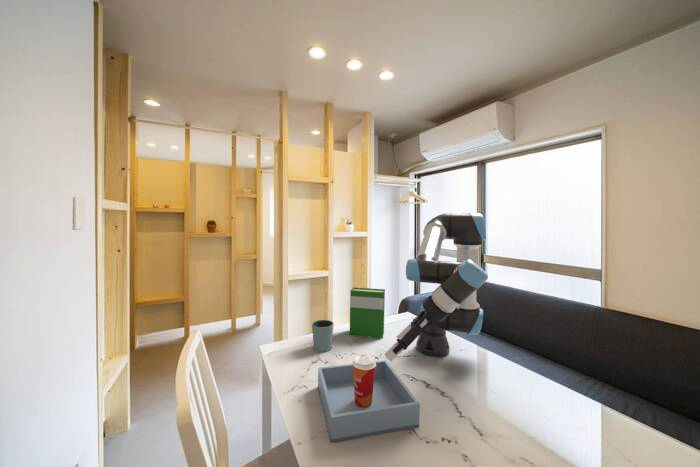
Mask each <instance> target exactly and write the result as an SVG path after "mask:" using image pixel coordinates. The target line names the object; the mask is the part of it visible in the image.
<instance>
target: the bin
mask: <svg viewBox="0 0 700 467" xmlns="http://www.w3.org/2000/svg"><path fill="white" fill-rule="evenodd" d="M375 362H376V367H375V374H374V385H373V397H372V404H371V405H370V406H369V407H366V408H362V407H359V406H357V405H356V404H355V397H354V367H353V364H352V363H350V364H349V363H348V364H339V365H331V366H329V365H328V366H321V367H320V366H319V367H318V369H317V373H318V374H317V388H318V392H319V396H320V401H321V405H322V410H323V414H324V417H325V423H326V427H327V432H328V437H329V441H330V444H334V443H335V444H336V443H341V442H345V441H350V440H356V439H357V440H358V439H363V438H367V437H373V436H378V435H384V434H389V433H395V432H401V431H406V430H412V429H417V428H420V412H421V411H420V410H421V407H420V406H421V404H420V402H419V401H418V399H417V398H416V397H415V396H414V395H413V393H412V392H411V391H410V389H409V388H408V387H407V385H406V384H405V382H403V380H402V378H401V377H400V376H399V375H398V373H397V372H396V371H395V369H393V367H392V366H391V365H390V363H389V362H388V360H387V359H384V360H377V361H376V360H375Z"/></svg>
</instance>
